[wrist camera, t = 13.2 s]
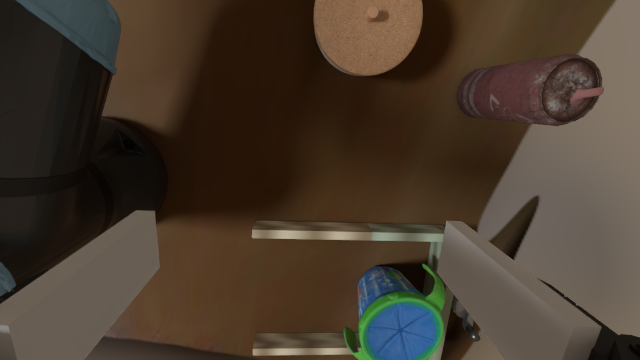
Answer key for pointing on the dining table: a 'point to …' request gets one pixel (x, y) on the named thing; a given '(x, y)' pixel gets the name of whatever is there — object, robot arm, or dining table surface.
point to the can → (533, 90)
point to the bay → (346, 231)
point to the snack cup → (396, 317)
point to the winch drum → (467, 319)
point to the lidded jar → (367, 33)
